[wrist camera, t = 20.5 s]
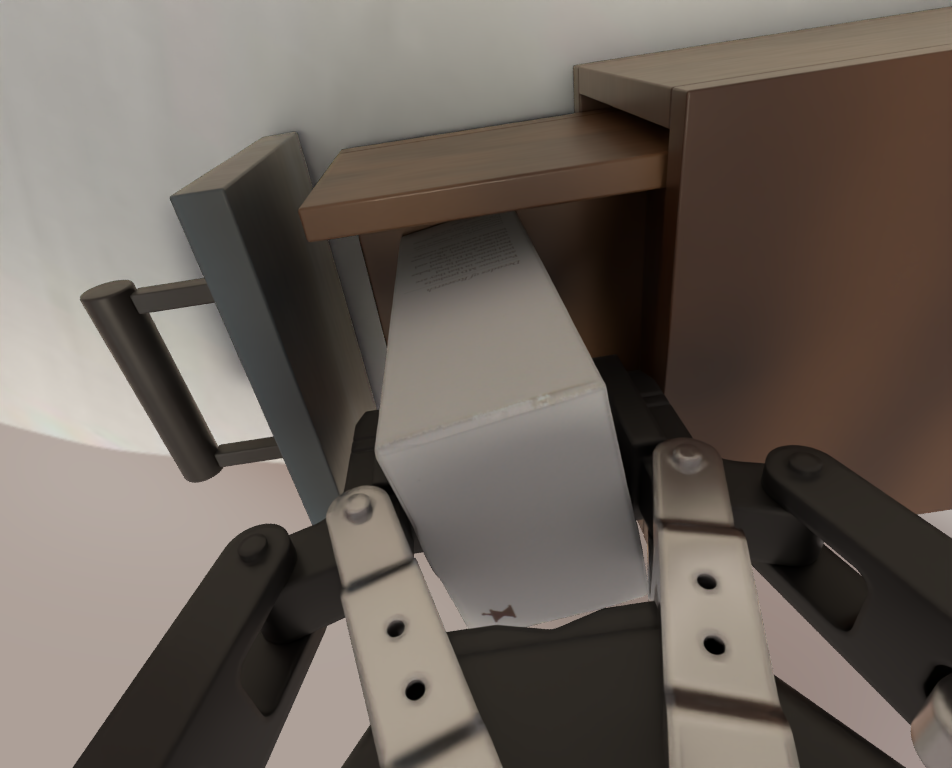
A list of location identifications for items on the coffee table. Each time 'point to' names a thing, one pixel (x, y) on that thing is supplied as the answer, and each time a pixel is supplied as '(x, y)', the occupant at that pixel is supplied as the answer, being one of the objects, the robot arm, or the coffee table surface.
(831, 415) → the cabinet
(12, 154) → the coffee table surface
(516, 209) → the drawer
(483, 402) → the cosmetic box
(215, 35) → the coffee table surface
